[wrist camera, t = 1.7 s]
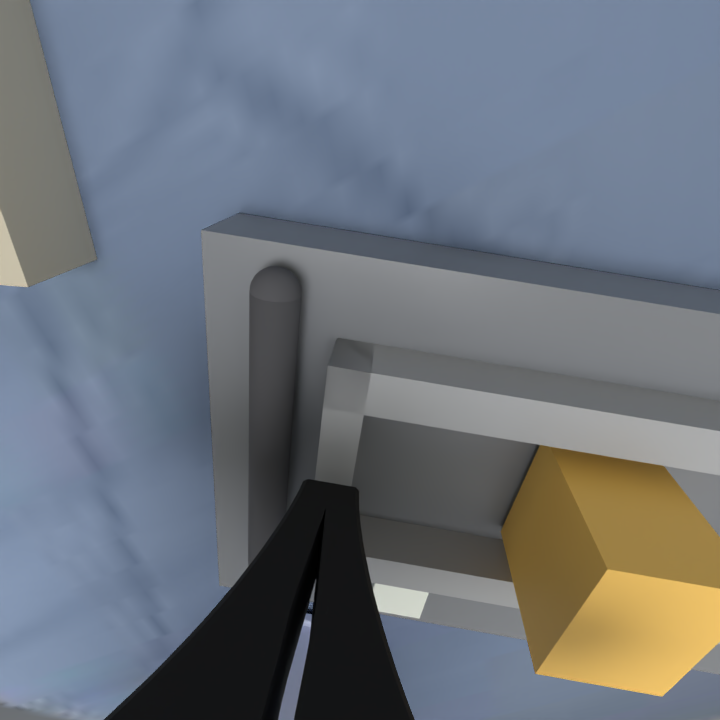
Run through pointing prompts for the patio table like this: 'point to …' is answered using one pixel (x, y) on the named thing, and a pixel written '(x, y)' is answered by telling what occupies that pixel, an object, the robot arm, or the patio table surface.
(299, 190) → the patio table surface
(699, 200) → the patio table surface
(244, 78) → the patio table surface
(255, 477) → the cable on side
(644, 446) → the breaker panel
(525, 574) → the block
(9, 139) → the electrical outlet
